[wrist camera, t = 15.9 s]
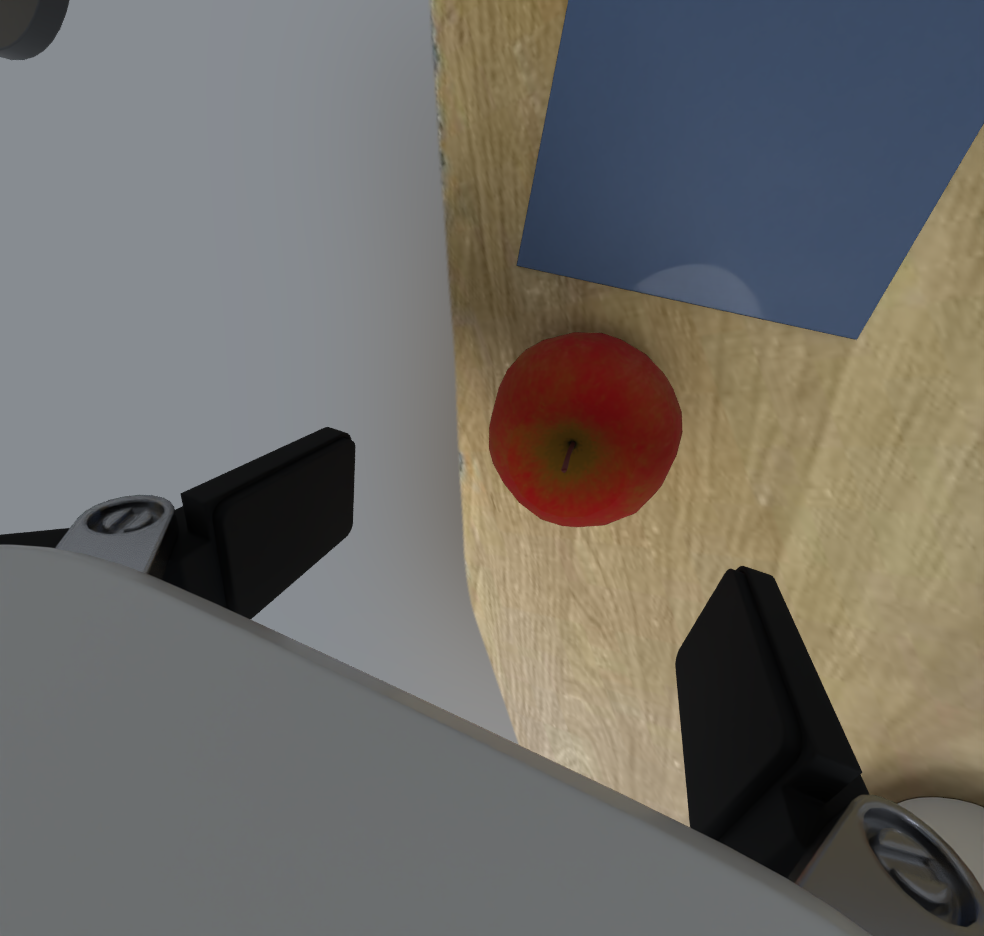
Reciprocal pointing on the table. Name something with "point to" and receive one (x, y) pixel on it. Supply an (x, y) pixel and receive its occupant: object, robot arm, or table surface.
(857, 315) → the napkin
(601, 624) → the table surface
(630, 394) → the apple
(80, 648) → the robot arm
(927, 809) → the cup
